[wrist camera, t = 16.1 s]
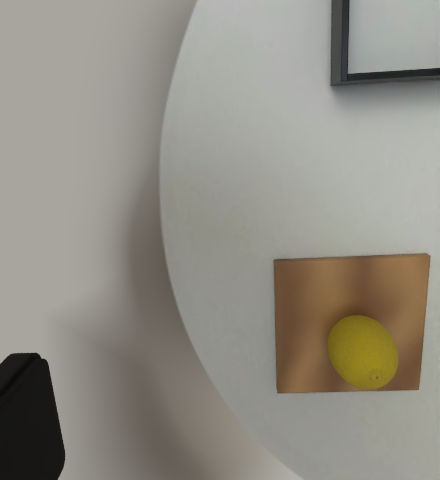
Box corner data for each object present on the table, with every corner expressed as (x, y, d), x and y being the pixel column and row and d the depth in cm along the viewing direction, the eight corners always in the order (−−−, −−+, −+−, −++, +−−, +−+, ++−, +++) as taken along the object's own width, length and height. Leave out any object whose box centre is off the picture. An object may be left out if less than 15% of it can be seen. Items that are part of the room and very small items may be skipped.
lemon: (364, 360, 40) (395, 416, 32) (311, 344, 39) (329, 397, 32) (387, 311, 38) (426, 357, 30) (332, 294, 38) (356, 336, 30)
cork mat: (276, 388, 42) (277, 393, 41) (273, 259, 38) (274, 262, 37) (415, 385, 41) (419, 390, 40) (426, 253, 37) (430, 255, 36)
